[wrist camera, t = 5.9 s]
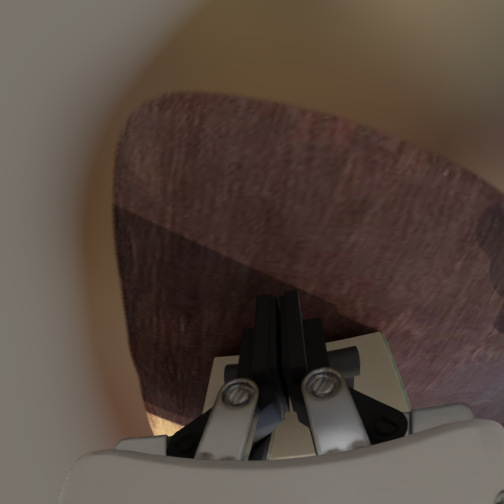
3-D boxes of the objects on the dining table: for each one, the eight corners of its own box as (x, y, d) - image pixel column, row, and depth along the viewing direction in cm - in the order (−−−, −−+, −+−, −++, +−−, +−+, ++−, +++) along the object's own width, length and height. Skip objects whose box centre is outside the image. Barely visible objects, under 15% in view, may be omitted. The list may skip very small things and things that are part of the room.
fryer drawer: (192, 311, 16) (154, 421, 10) (382, 278, 15) (437, 385, 8) (257, 436, 24) (252, 501, 17) (367, 420, 22) (379, 486, 15)
